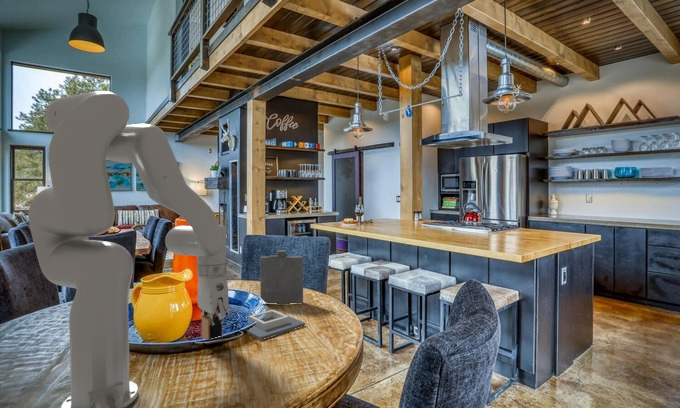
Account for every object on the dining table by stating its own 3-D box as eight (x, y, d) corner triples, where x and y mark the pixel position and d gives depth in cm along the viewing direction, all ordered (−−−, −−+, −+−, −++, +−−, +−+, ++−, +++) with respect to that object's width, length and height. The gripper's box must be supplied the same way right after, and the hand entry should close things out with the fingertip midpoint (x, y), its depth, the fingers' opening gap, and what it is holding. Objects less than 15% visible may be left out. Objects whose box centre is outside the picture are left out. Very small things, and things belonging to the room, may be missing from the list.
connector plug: (222, 342, 97) (222, 313, 97) (208, 346, 94) (208, 316, 94) (215, 337, 100) (215, 309, 100) (201, 341, 97) (201, 312, 97)
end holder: (305, 326, 110) (305, 316, 110) (260, 340, 99) (260, 330, 99) (275, 313, 121) (275, 304, 121) (232, 325, 110) (232, 316, 110)
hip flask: (303, 301, 135) (303, 249, 135) (302, 304, 131) (302, 251, 130) (261, 302, 134) (261, 249, 134) (259, 305, 130) (259, 251, 130)
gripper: (239, 272, 94) (239, 341, 94) (211, 263, 106) (211, 325, 106) (211, 276, 88) (211, 349, 89) (186, 267, 100) (186, 331, 101)
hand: (211, 335), depth 97 cm, fingers closed on connector plug, 4 cm apart
